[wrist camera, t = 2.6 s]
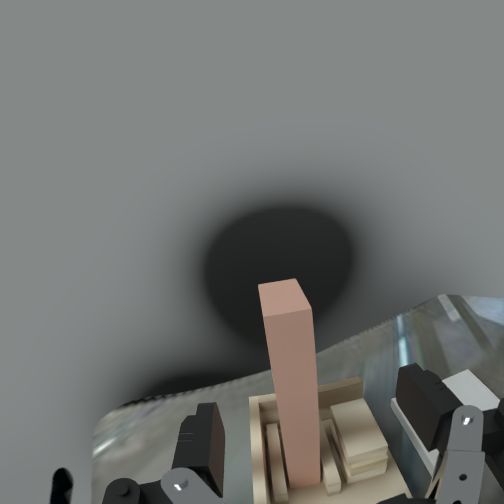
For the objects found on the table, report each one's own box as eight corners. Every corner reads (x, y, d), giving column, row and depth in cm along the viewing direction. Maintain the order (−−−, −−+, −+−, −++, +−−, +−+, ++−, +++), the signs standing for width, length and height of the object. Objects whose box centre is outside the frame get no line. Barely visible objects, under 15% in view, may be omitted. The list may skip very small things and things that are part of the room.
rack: (257, 433, 34) (249, 397, 32) (364, 411, 34) (367, 373, 32) (267, 573, 14) (256, 556, 13) (422, 533, 14) (443, 505, 13)
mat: (390, 406, 33) (391, 398, 33) (465, 377, 33) (467, 369, 33) (434, 482, 19) (438, 475, 19) (518, 432, 19) (523, 424, 19)
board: (283, 448, 29) (258, 284, 24) (310, 443, 29) (295, 278, 24) (290, 488, 23) (263, 316, 18) (320, 482, 23) (311, 308, 18)
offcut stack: (329, 432, 30) (329, 406, 29) (362, 423, 30) (364, 397, 29) (347, 484, 22) (349, 460, 21) (384, 472, 22) (391, 448, 21)
